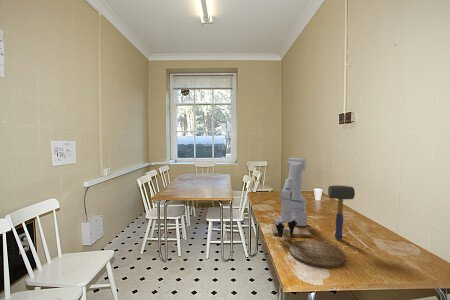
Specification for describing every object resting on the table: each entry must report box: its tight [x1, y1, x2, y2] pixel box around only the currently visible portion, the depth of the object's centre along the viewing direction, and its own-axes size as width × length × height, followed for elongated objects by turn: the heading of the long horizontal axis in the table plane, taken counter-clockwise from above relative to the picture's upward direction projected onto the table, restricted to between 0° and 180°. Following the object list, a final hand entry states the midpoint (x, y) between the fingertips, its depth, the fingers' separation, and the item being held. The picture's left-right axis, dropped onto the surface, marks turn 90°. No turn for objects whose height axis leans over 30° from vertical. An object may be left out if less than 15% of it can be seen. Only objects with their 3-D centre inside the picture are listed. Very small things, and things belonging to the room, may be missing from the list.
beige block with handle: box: [281, 226, 291, 241], centre depth 139 cm, size 4×14×6 cm, turn 176°
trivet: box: [289, 239, 347, 269], centre depth 118 cm, size 25×25×2 cm
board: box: [271, 226, 313, 238], centre depth 143 cm, size 21×9×2 cm, turn 86°
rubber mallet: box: [327, 184, 356, 241], centre depth 136 cm, size 12×8×30 cm, turn 82°
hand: (285, 235), depth 136 cm, fingers open, 7 cm apart
